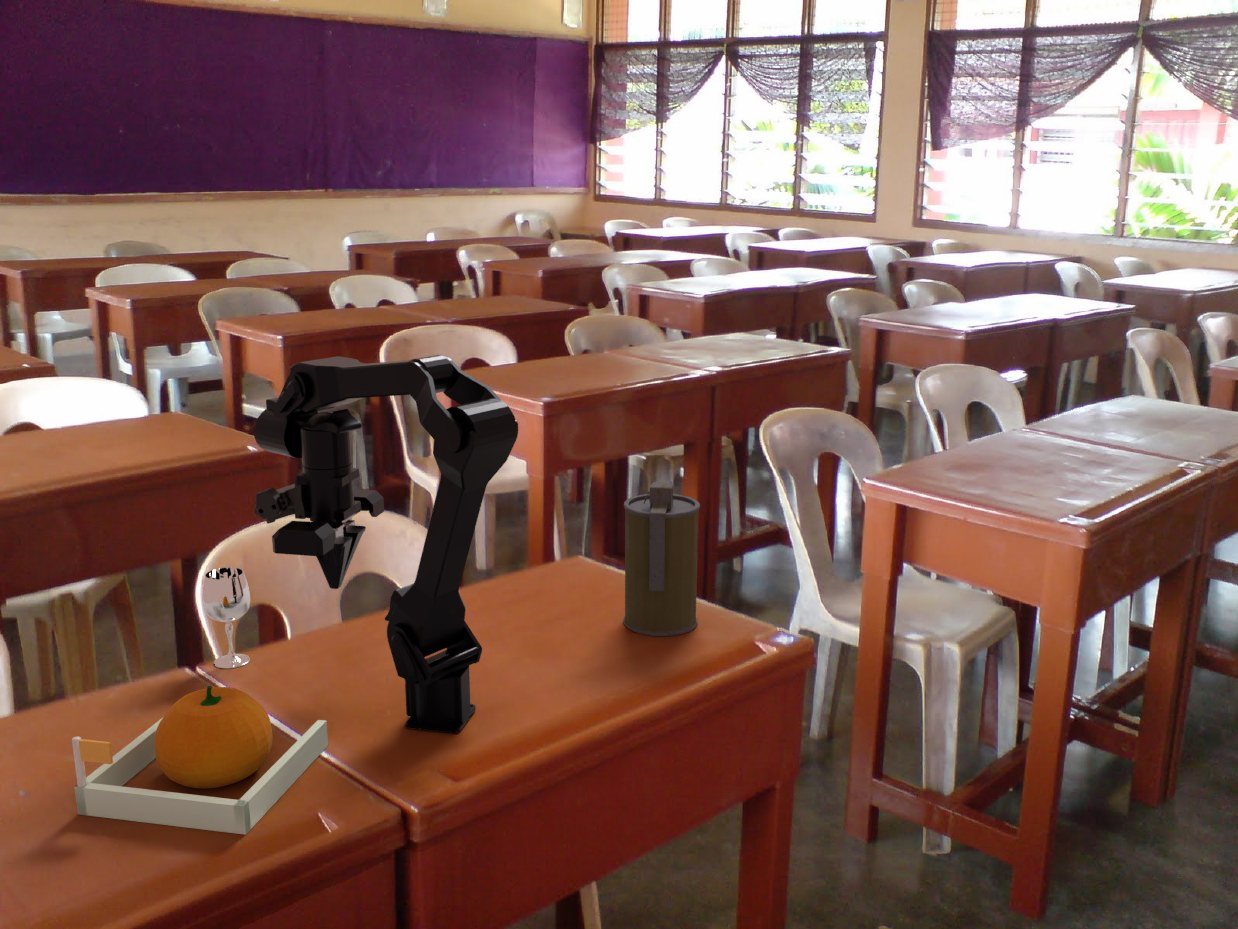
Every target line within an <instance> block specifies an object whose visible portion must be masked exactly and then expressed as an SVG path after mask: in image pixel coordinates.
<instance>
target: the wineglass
mask: <svg viewBox="0 0 1238 929" xmlns="http://www.w3.org/2000/svg"><path fill="white" fill-rule="evenodd" d="M202 585H203V586H202V591H201V592H202V597H201V598H202V600H201V601H202V607H203V610H204V613H205V614H206V615H207V616H208V617H209V618H210V619H211V620H214V621H216V622H221V623H225V625H224V630H225V633H226V636H227V641H228V653H227V654H224V655H222V656H219V657H218V658H216V659H215V660H214V661H213V665H214V664H215V665H214V666H215V667H216V668H219V669H237V668H239V667H243V666H245V665H247V664H248V663H249V662H250V661H251V658H250V656H249V655H247V654H244V653H235V651H234V647H233V632H234V625H233V623H232V622H234V621H236V620H239V619H240V618H242V617H243V616H244V615H245V614H246V613H247V612H248V610H249V609H250V605H251V592H250V588H249V583H248V580H247V577H246V574H245V572H244V570H243V569H242V568H239V567H230V566H229V567H227V566H226V567H220V568H219V567H218V568H215V569H212V570H209V571H207V572H206V573H205V574H204V579H203V584H202Z"/></svg>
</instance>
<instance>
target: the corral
mask: <svg viewBox="0 0 1238 929" xmlns="http://www.w3.org/2000/svg"><path fill="white" fill-rule="evenodd" d="M162 718H163V717H162ZM162 718H160V719H159V720H158V721H156V722H155V723H154V724H152V726H150V727H149V728H148V729H146V730H145V731H144V732H142V733H141V734H139V736H137V737H136V738H135V739H133V740H132V741H131V742H130V743H128V744H127V745H126V746H124V747H123V748H122V749H121V750H119V751H118V752H117V753H115V754H114V755H113V750H112V743H111V741H102V740H95V739H94V740H92V739H84V738H82V737H81V736H73V737H72V738H71V742H72V745H71V746H72V753H73V759H74V767H75V775H76V783H77V784H76V785H75V786H74V795H75V801H76V802H75V803H76V810H77V815H79V816H80V815H82V816H88V817H89V816H90V817H96V818H97V817H98V818H104V819H105V818H106V819H107V818H108V819H114V820H122V821H131V822H139V823H145V824H146V823H148V824H155V825H165V826H171V827H178V828H185V829H186V828H188V829H189V828H190V829H196V830H202V831H203V830H206V831H210V832H211V831H212V832H213V831H214V832H221V833H230V834H236V835H237V834H239V835H244V836H245V835H247V834H249V832H250V831H251V830H252V828H254V826H256V824H257V823H258V822H259V821H260V820H261V819H262V818H263V816H265V814H267V812H268V811H269V810H270V809H271V808H272V807H273V806H274V805H275V804H276V803H277V802H278V801H279V799H281V798H282V796H283V795H284V794H286V792H287V791H288V790H289V789H290V788H291V786H293V784H294V783H295V782H296V781H298V779H299V778H300V777H301V775H302V774H303V773H304V772H305V771H306V770H307V769H308V768H309V767H310V766H311V765H312V764H313V763H314V762H315V760H316V759H318V758H319V756H320V755H321V754H322V753H323V752H324V751H325V750H326V749H327V748H328V747H329V738H328V723H327V720H325V719H324V720H323V719H317V720H316V722H314V724H312V725H311V726H310V727H309V729H307V731H306V732H305V733H303V735H302V736H300V737H299V738H298V739H297V741H295V742H294V744H292V745H291V747H290V748H288V749H287V750H286V752H285V753H284V754H283V755H282V756H280V757H279V759H278V760H277V761H276V762H275V763H274V764H273V765H272V766H271V767H270V768H269V769H268V770H267V771H266V772H265V773H264V774H263V775H262V776H261V777H260V778H259V779H258V780H257V781H256V782H255V783H254V784H253V785H252V786H251V787H250V788H249V789H248V790H247V791H246V792H245V793H244V794H243V796H241V797H240V798H239V799H232V798H225V797H224V798H223V797H216V796H207V795H199V794H192V793H191V794H189V793H182V792H173V791H163V790H156V789H148V788H140V787H139V788H138V787H130V786H124V785H125V784H126V783H128V782H129V781H130V780H131V779H133V778H134V777H135V776H136V775H137V774H138V773H139V772H141V771H142V770H143V769H144V768H146V767H147V766H148V765H149V764H151V762H154V760H156V756H155V735H156V730H157V728H158V725H159V723H160V721H161V720H162ZM86 762H89V763H98V764H101V765H100V766H99V767H97V768H96V769H95V770H94V771H92V772H91V773H90V774H89V775H88V776H86V775H87V774H86V768H85V763H86Z"/></svg>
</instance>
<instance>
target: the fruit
mask: <svg viewBox="0 0 1238 929" xmlns="http://www.w3.org/2000/svg"><path fill="white" fill-rule="evenodd" d="M206 687H207V688H201V689H198V690H195V691H192V692H190V693H187V694H185V695H184V696H182V697H181V698H179V699H178V700H177V701H176V702H174V704H172V706H171V707H170V708H169V709H168V710H167V712H166V713H165V714H164V715H163V717H162V720H161V721H160V723H159V725H158V728H157V730H156V735H155V756H156V758H155V760H156V763H157V765H158V767H159V768H160V769H161V770H162V772H163V773H164V775H165V776H166V777H167V778H168V779H169V780H171V781H172V782H175V783H176V784H178V785H180V786H182V787H188V788H193V789H215V788H221V787H222V788H223V787H226V786H230V785H232V784H236V783H239V782H240V781H242V780H244V779H246V778H248V777H249V776H251V775H253V774H254V773H255V772H256V771H257V770H259V768H261V767H262V766H263V765H264V763H265V761H266V760H267V757H268V756H269V754H270V752H271V749H272V745H273V735H274V734H273V729H272V728H273V727H272V724H271V718H270V716H269V714H268V712H267V710H266V709H265V708H264V706H263V705H261V704H260V703H259V702H258V701H257V700H256V699H255V698H254V697H253V696H251V695H250V694H249V693H246V692H245V691H243V690H241V689H238V688H236V687H235V688H234V687H228V686H214V687H212V685H207V686H206Z"/></svg>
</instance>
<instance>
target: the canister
mask: <svg viewBox="0 0 1238 929" xmlns="http://www.w3.org/2000/svg"><path fill="white" fill-rule="evenodd" d="M700 507H701V504H700V502H699V501H698V500H696V499H694V498H693V497H691V496H687V495H681V494H676V493H674V482H673V481H671V480H655V481H654V482H652V484H650V486H649V491H647V493H645V494H639V495H636V496H632V497H629V498H627V499H626V500H624V503H623V508H624V509H625V510H624V512H625V514H624V518H625V519H624V521H625V522H624V530H625V531H624V533H625V534H624V535H625V536H624V544H625V545H624V563H625V564H624V616H623V619H622V620H623V624H624V626H625V627H626V628H627V629H628V630H630V631H633V632H634V633H638V634H641V635H645V636H651V637H673V636H679V635H683V634H686V633H689V632H691V631H693V630H694V629H695V628H696V627H697V626H698V622H699V620H698V617H697V586H698V585H697V581H698V576H697V575H698V547H699V546H698V545H699V544H698V539H699V536H698V535H699V510H700Z"/></svg>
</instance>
